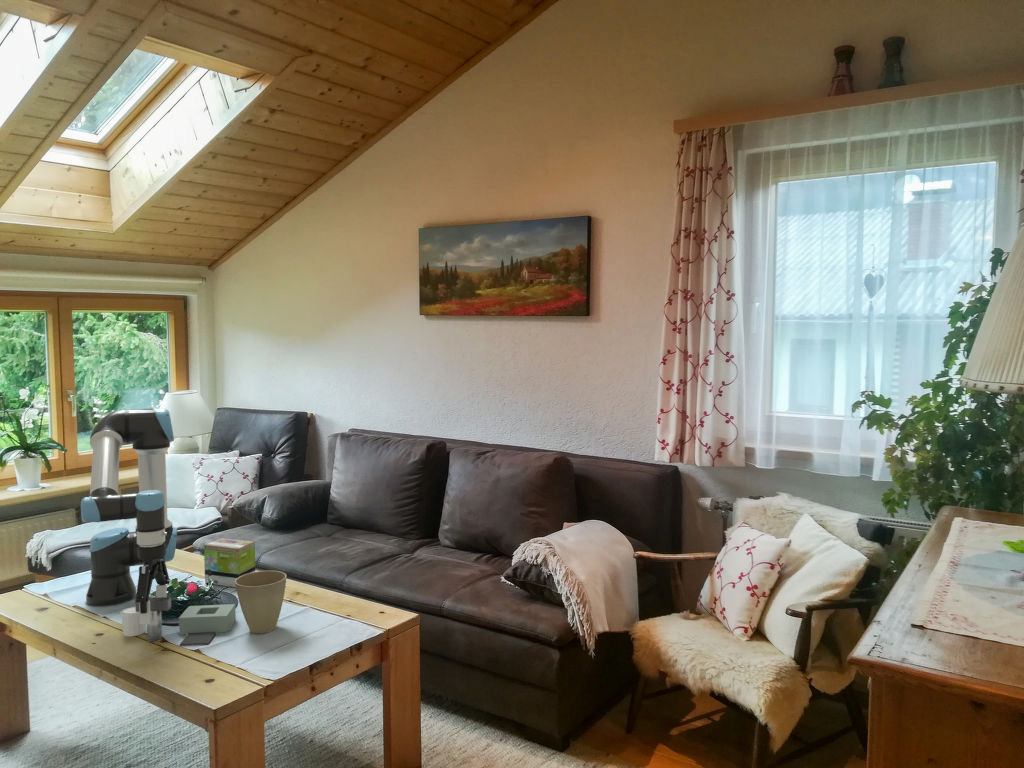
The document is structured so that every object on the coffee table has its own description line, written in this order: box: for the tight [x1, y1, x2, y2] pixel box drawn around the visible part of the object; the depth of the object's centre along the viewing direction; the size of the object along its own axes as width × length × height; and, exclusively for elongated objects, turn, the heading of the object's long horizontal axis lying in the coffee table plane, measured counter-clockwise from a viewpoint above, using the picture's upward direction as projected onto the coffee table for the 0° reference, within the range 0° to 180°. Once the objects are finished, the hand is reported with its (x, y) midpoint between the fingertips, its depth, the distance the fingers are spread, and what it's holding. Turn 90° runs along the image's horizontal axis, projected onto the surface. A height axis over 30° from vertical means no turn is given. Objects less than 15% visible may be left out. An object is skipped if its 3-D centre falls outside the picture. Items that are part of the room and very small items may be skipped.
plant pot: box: [235, 570, 287, 634], centre depth 228 cm, size 15×15×16 cm
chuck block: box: [178, 603, 237, 635], centre depth 230 cm, size 14×10×5 cm
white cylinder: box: [120, 606, 146, 637], centre depth 226 cm, size 7×7×7 cm
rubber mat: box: [179, 632, 217, 647], centre depth 221 cm, size 8×8×1 cm
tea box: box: [203, 537, 256, 588], centre depth 272 cm, size 15×10×15 cm
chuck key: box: [134, 596, 172, 643], centre depth 221 cm, size 9×4×12 cm, turn 97°
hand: (153, 614), depth 221 cm, fingers open, 13 cm apart
